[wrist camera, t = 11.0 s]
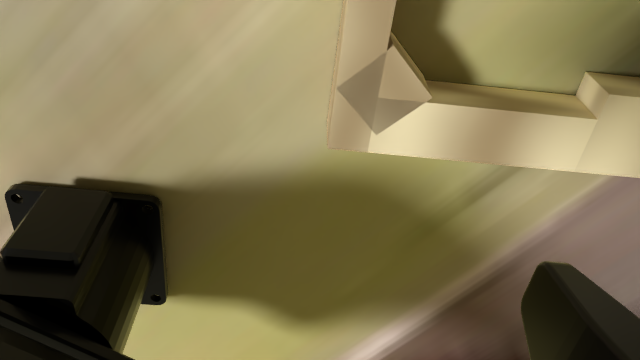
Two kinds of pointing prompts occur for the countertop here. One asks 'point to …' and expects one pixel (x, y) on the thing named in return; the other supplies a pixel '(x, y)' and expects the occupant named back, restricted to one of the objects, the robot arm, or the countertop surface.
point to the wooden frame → (472, 109)
